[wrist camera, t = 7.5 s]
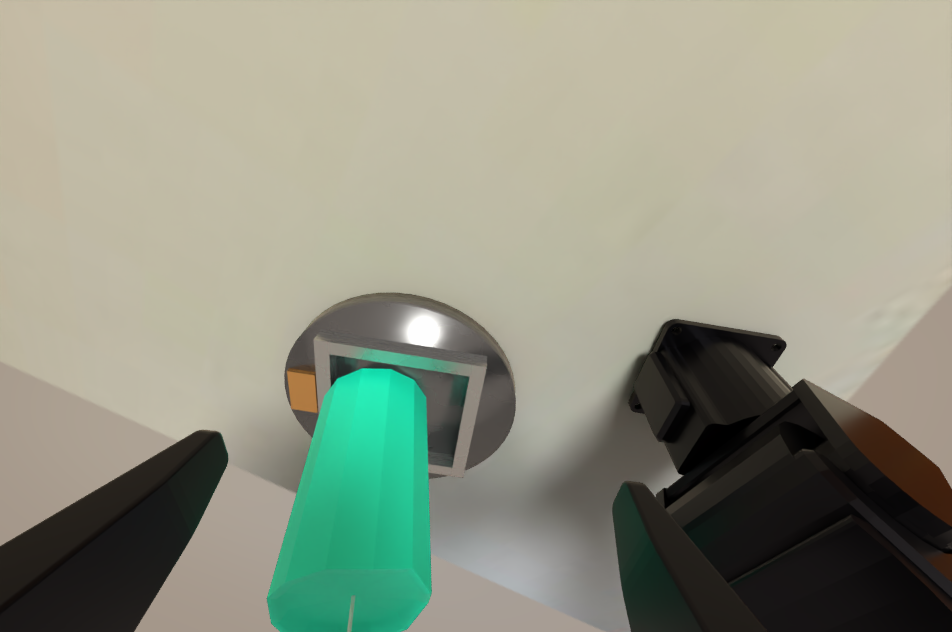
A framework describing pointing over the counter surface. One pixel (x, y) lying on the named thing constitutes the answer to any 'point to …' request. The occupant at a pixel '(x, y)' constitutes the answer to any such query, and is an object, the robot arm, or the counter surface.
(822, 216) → the counter surface
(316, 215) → the counter surface
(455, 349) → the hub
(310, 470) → the candle
